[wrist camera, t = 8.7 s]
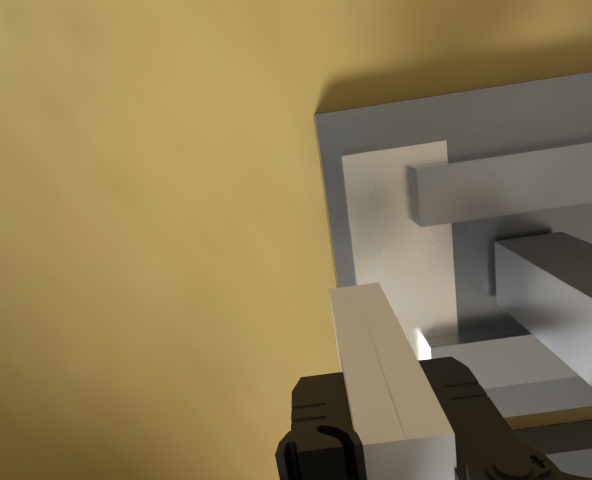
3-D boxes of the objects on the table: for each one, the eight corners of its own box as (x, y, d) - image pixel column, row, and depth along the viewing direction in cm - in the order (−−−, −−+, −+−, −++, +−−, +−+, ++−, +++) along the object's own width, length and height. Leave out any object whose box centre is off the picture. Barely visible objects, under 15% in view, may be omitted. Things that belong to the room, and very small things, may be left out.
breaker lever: (497, 322, 17) (636, 457, 10) (493, 219, 16) (646, 292, 9) (561, 313, 17) (744, 443, 10) (561, 210, 16) (766, 275, 9)
